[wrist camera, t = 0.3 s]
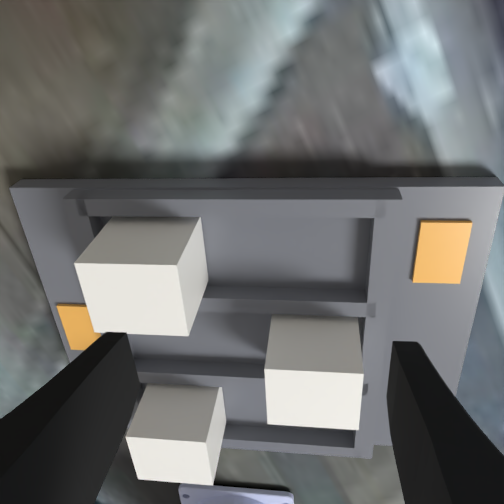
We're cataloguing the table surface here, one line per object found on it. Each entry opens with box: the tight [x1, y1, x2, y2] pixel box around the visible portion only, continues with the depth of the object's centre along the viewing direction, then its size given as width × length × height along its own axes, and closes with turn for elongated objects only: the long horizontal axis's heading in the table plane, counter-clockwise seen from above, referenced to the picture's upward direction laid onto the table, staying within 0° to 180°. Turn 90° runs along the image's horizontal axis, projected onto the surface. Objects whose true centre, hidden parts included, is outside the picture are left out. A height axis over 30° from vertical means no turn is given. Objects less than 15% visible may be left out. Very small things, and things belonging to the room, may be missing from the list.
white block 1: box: [74, 216, 209, 336], centre depth 20 cm, size 3×4×4 cm
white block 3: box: [264, 314, 364, 430], centre depth 22 cm, size 3×4×4 cm
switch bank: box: [9, 177, 504, 459], centre depth 24 cm, size 16×21×2 cm
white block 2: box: [126, 383, 226, 486], centre depth 25 cm, size 3×4×4 cm
